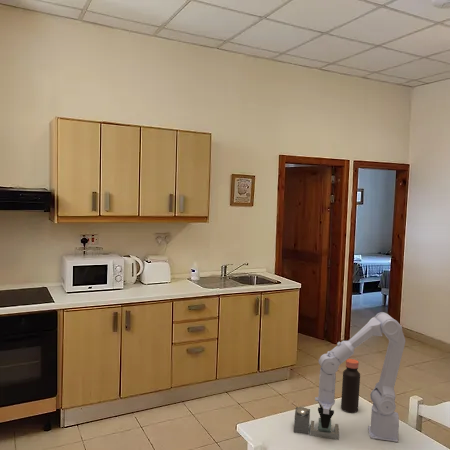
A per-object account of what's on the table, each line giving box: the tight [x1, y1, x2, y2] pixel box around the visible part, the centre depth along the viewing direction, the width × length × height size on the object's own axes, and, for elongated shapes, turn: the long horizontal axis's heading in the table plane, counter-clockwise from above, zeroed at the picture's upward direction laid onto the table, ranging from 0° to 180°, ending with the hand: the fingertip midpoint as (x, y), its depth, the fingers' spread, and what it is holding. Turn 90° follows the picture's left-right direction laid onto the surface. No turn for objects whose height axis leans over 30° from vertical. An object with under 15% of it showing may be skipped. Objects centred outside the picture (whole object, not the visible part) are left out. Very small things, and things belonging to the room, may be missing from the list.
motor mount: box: [293, 406, 340, 441], centre depth 163 cm, size 16×8×7 cm, turn 78°
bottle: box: [340, 358, 361, 414], centre depth 181 cm, size 7×7×20 cm
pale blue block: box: [317, 417, 332, 432], centre depth 163 cm, size 4×4×5 cm
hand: (324, 424), depth 163 cm, fingers open, 5 cm apart
